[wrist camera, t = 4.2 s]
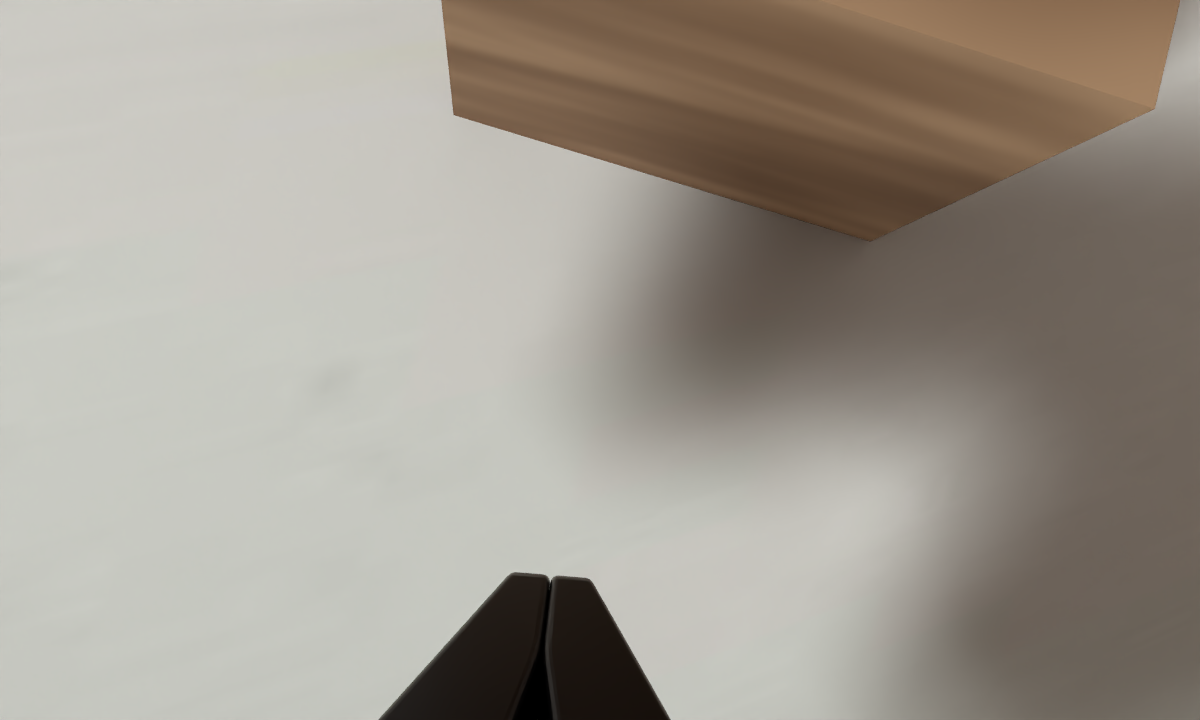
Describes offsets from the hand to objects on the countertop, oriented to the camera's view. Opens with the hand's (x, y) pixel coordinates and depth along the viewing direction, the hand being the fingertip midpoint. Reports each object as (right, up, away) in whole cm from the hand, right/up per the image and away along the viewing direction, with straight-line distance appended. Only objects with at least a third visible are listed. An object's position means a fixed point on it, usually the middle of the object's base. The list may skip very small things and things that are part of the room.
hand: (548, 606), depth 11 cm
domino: (+2, +7, +12) cm, 14 cm away
